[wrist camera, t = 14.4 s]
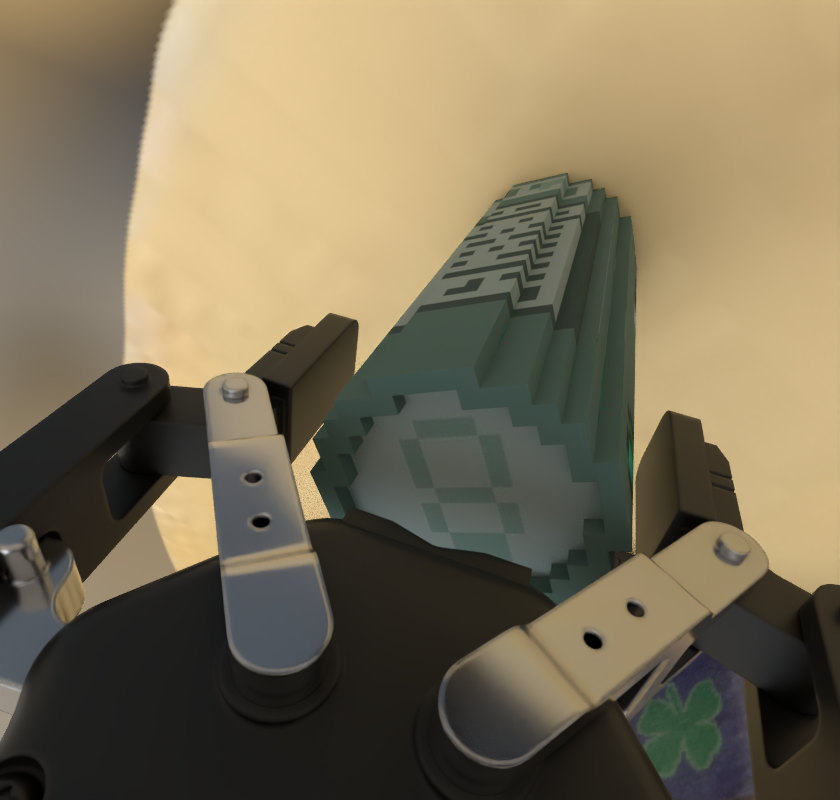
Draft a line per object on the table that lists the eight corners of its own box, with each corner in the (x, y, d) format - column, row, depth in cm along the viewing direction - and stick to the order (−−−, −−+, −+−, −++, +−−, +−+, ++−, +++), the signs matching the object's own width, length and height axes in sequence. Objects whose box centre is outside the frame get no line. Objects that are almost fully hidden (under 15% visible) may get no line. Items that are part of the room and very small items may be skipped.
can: (496, 333, 26) (371, 605, 14) (464, 196, 23) (271, 387, 11) (641, 315, 23) (642, 626, 11) (625, 159, 20) (603, 353, 8)
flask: (746, 611, 29) (790, 859, 20) (786, 645, 29) (846, 902, 21) (607, 665, 34) (596, 877, 26) (642, 692, 35) (642, 911, 26)
